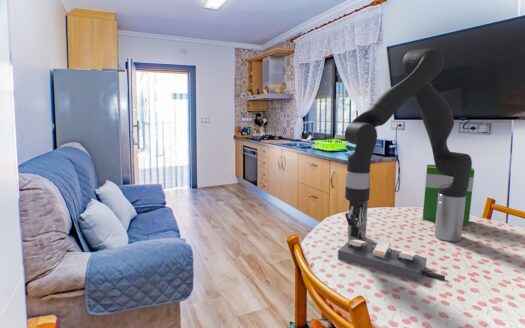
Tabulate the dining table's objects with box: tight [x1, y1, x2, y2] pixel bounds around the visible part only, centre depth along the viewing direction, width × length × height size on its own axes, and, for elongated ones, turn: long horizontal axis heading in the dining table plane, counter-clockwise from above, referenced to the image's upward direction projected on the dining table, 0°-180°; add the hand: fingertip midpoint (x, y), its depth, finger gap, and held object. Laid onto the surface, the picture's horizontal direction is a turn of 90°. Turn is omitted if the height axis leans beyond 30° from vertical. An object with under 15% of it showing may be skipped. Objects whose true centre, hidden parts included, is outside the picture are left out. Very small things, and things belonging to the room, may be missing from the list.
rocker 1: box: [349, 239, 367, 247], centre depth 113 cm, size 7×4×1 cm, turn 144°
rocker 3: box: [399, 250, 417, 260], centre depth 103 cm, size 7×4×1 cm, turn 144°
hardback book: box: [422, 164, 475, 226], centre depth 148 cm, size 18×7×24 cm, turn 64°
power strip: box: [337, 239, 446, 282], centre depth 107 cm, size 11×31×5 cm, turn 54°
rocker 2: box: [373, 240, 391, 258], centre depth 108 cm, size 7×4×1 cm, turn 143°
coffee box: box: [347, 200, 369, 242], centre depth 126 cm, size 9×6×16 cm
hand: (354, 236), depth 110 cm, fingers closed
